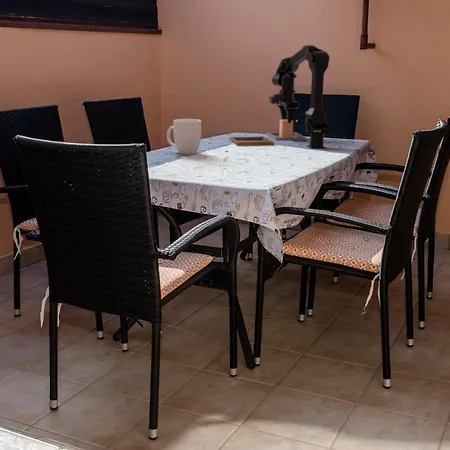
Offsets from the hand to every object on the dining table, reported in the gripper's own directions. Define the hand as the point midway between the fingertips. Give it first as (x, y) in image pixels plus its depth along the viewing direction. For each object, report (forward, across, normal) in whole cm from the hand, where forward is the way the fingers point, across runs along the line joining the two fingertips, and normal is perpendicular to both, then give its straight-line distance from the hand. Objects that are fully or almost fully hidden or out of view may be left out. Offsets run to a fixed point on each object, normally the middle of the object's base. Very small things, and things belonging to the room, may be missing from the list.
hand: (286, 121), depth 301 cm
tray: (+8, 0, 0) cm, 8 cm away
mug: (+8, +34, -52) cm, 63 cm away
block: (+7, 0, 0) cm, 7 cm away
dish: (+8, +14, -20) cm, 26 cm away
